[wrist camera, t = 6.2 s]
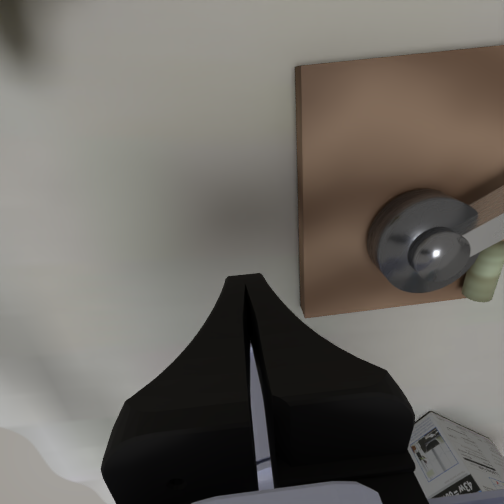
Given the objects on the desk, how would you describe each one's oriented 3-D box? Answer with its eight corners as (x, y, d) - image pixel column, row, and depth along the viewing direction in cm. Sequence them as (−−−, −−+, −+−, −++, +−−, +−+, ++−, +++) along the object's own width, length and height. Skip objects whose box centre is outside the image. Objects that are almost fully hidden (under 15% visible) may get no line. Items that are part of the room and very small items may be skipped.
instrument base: (476, 283, 25) (510, 309, 22) (300, 305, 25) (310, 335, 22) (547, 41, 18) (612, 33, 15) (295, 66, 17) (310, 63, 14)
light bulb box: (383, 444, 35) (444, 582, 25) (429, 408, 32) (517, 544, 23) (446, 468, 38) (521, 597, 28) (492, 437, 36) (590, 566, 26)
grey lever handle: (387, 289, 22) (410, 318, 19) (351, 224, 20) (373, 247, 17) (579, 185, 20) (638, 202, 17) (567, 95, 17) (635, 98, 14)
